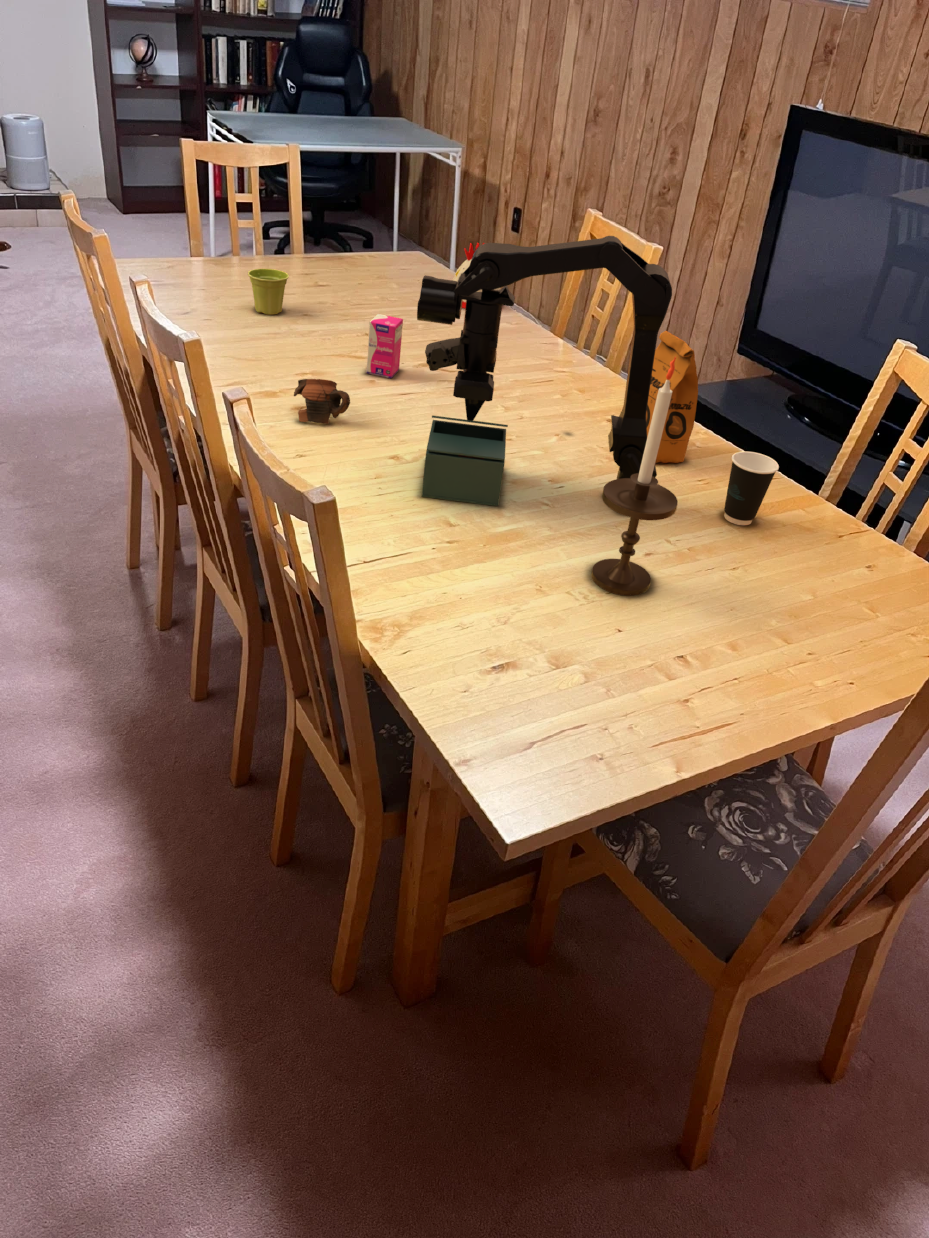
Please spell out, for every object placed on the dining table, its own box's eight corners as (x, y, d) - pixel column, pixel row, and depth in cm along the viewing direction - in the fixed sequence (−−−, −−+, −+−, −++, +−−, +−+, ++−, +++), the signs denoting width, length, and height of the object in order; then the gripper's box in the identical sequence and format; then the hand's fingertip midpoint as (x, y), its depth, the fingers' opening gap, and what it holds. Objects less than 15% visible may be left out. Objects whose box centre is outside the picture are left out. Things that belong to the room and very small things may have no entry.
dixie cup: (710, 521, 169) (727, 463, 163) (720, 503, 175) (736, 447, 169) (756, 534, 167) (775, 476, 160) (764, 516, 173) (782, 459, 167)
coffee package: (644, 465, 185) (671, 352, 172) (619, 437, 194) (643, 328, 182) (691, 465, 187) (721, 353, 175) (664, 437, 197) (691, 329, 185)
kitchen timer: (441, 293, 260) (447, 234, 252) (490, 294, 264) (497, 236, 256) (456, 310, 250) (463, 249, 241) (507, 311, 254) (515, 251, 245)
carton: (421, 496, 164) (426, 449, 160) (428, 461, 176) (433, 415, 171) (498, 506, 165) (505, 459, 160) (500, 470, 176) (506, 424, 171)
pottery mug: (282, 422, 184) (284, 377, 183) (308, 428, 193) (310, 386, 192) (339, 421, 179) (340, 376, 179) (363, 428, 188) (364, 384, 188)
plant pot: (243, 305, 235) (243, 268, 230) (282, 304, 238) (282, 267, 234) (254, 318, 228) (253, 280, 223) (293, 317, 232) (293, 279, 227)
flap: (431, 417, 164) (431, 415, 164) (433, 417, 171) (433, 415, 171) (507, 427, 165) (507, 425, 165) (506, 426, 171) (506, 424, 171)
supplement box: (365, 374, 207) (368, 321, 200) (374, 365, 212) (377, 312, 205) (391, 379, 206) (395, 326, 200) (399, 370, 211) (403, 318, 204)
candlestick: (609, 553, 156) (658, 338, 136) (668, 581, 151) (728, 362, 131) (571, 577, 149) (617, 353, 129) (632, 607, 143) (689, 379, 124)
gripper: (435, 304, 163) (427, 393, 172) (425, 341, 148) (417, 436, 157) (501, 313, 164) (490, 401, 173) (498, 350, 148) (486, 445, 157)
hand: (470, 419), depth 165 cm, fingers closed
